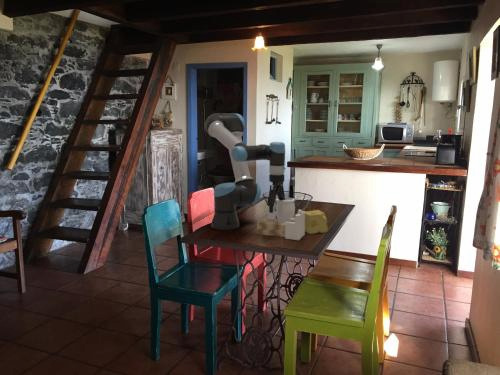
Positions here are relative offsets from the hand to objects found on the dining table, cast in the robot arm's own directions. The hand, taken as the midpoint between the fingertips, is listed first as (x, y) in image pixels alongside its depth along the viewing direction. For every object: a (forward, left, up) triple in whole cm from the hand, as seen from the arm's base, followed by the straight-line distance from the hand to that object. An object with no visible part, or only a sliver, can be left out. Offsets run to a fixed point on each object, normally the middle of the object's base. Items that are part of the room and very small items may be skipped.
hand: (276, 215), depth 211 cm
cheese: (+16, +14, -10) cm, 23 cm away
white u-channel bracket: (+11, 0, -10) cm, 15 cm away
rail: (+1, 0, -10) cm, 10 cm away
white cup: (-1, +19, -10) cm, 21 cm away
